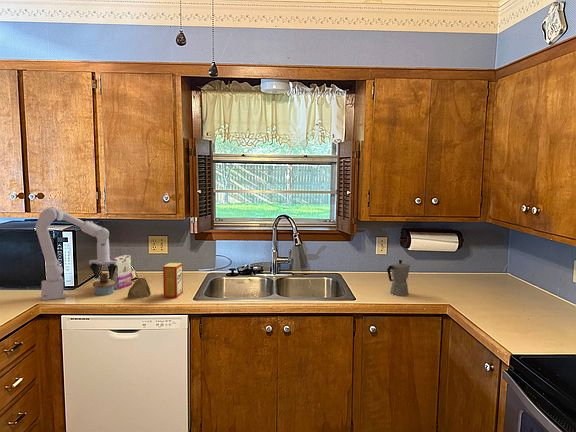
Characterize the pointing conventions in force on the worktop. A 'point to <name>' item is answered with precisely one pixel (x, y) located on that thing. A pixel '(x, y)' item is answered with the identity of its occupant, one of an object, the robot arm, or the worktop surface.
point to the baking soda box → (172, 280)
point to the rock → (139, 289)
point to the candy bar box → (122, 272)
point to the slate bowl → (104, 290)
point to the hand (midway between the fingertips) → (104, 278)
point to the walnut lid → (104, 281)
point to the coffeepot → (399, 278)
